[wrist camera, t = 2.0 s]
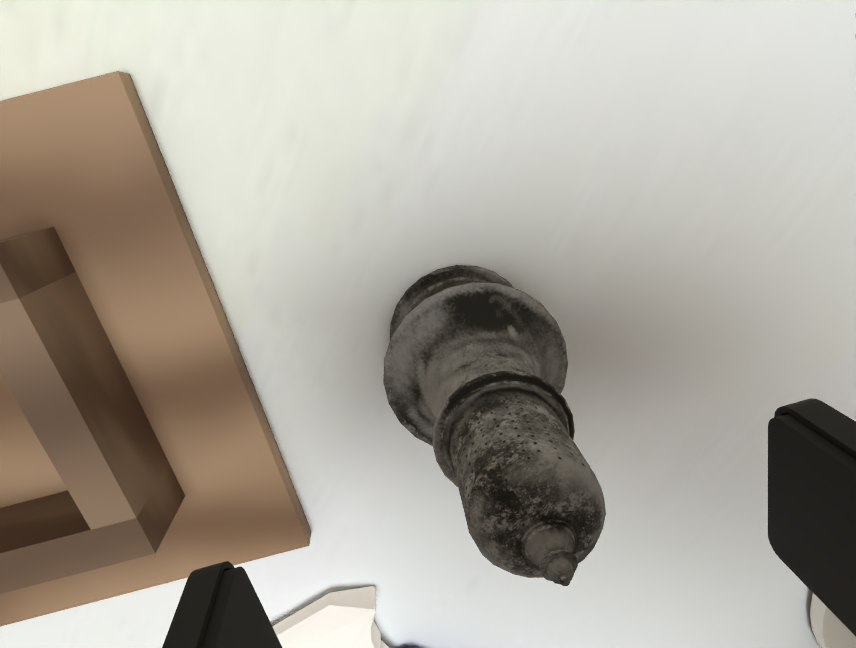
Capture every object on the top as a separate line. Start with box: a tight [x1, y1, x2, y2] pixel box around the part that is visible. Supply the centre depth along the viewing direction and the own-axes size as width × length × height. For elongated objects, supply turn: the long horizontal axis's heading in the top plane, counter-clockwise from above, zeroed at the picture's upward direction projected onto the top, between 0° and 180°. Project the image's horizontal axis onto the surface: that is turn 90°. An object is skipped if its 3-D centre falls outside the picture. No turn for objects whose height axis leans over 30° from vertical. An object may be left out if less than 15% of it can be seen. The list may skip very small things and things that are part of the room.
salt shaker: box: [384, 265, 606, 586], centre depth 15 cm, size 6×6×12 cm
